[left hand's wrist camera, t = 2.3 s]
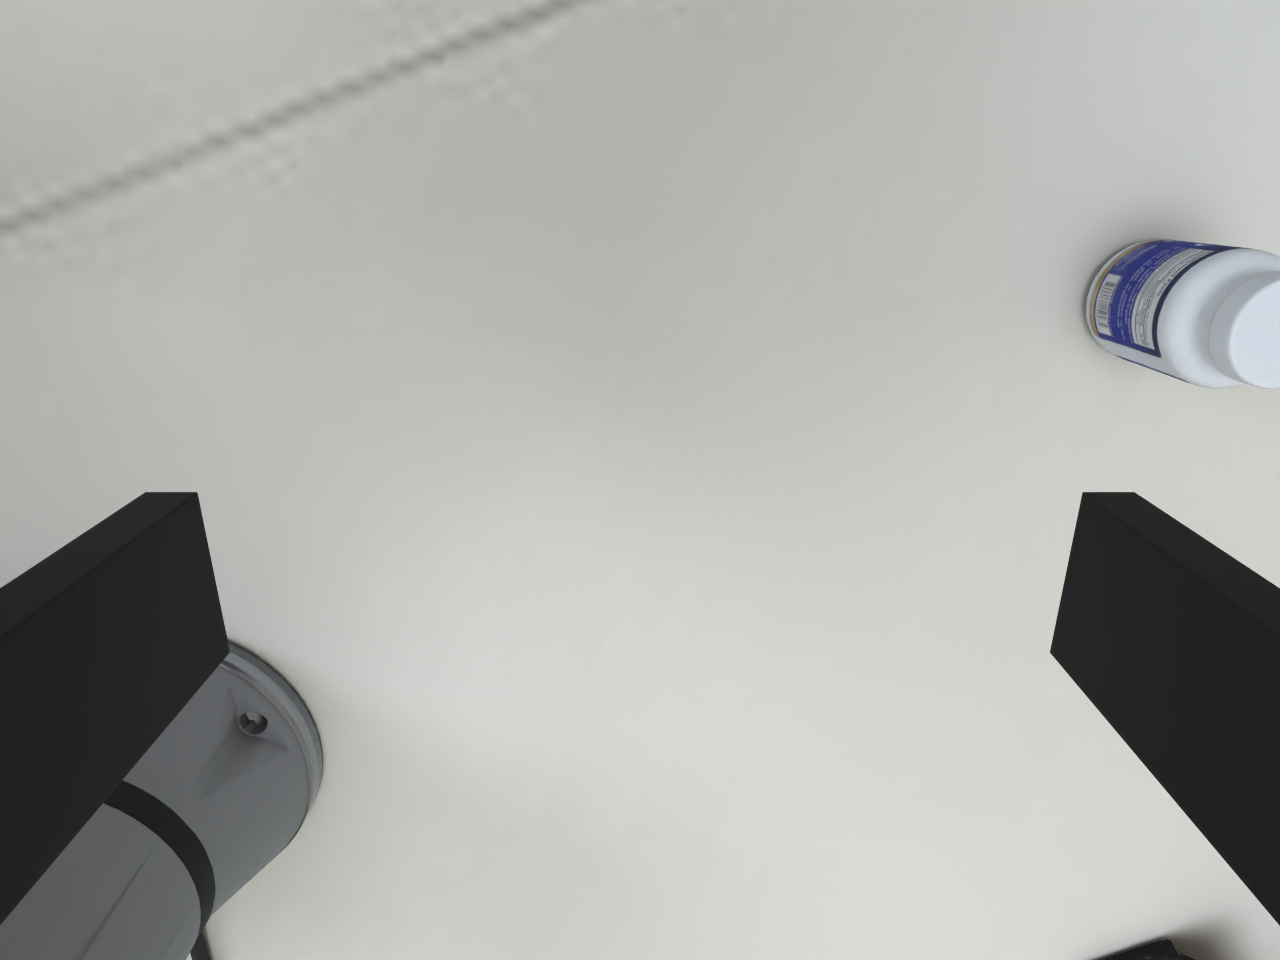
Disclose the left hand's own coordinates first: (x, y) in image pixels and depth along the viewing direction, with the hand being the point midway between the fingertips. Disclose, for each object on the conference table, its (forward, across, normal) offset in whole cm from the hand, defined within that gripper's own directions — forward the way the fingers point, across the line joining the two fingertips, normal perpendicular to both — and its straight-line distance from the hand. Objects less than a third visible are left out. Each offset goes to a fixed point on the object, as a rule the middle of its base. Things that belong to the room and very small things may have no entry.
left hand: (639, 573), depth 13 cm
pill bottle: (+26, +22, 0) cm, 35 cm away
